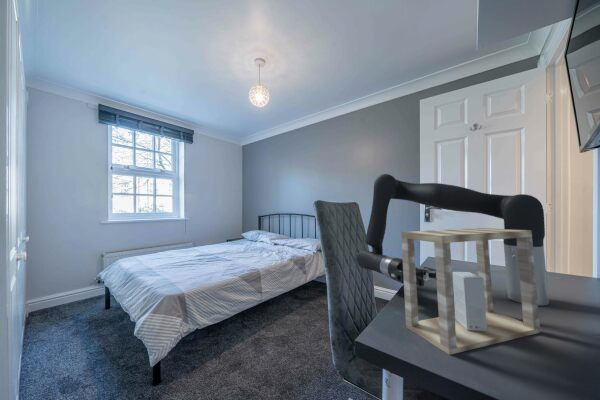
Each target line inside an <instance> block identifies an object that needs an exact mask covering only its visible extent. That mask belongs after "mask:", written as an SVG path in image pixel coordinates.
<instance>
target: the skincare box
mask: <svg viewBox="0 0 600 400" xmlns="http://www.w3.org/2000/svg"><path fill="white" fill-rule="evenodd" d="M452 282H453V298H454V313H455V319H456V320H457V321H458V322H459V323H460V324H461V325H462V326H463V327H465V328H466V329H467V330H472V331H487V325H486V312H485V298H484V285H483V278H481V277H479V276H478V274H474V273H472V272H470V271H468V272H467V271H452Z"/></svg>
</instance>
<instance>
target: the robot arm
mask: <svg viewBox="0 0 600 400" xmlns="http://www.w3.org/2000/svg"><path fill="white" fill-rule="evenodd" d="M372 194H373V195H372V196H373V197H372V205H371V212H370V217H369V221H368V226H367V229H366V234H365V239H364V242H365V244H366V245H367V246H369V247H371V250H372V251H368V250H360V251H359V252H358V253H357V255H356V257H355V258H356V259H355V260H356V263H357V265H358V267H360V268H362V269H364V270H369V271H372V272H373V271H374V272H376V273H378V274H381V275H383V276H385V277H387V278H389V279H391V280H393V281H396V282H399V283H401V284H403V285H404V277H403V258H400V257H396V256H390V255H386V254H383V253H384V252H383V251H384V249H383V245H384V244H383V243H384V238H385V234H386V229H387V219H388V218H387V217H388V209H389V205H390V201H391V200H402V201H409V202H414V203H418V204H421V205H425V206H427V207H432V208H437V209H442V210H447V211H453V212H462V213H473V214H474V213H476V214H480V215H481V214H482V215H486V216H491V217H493V218H498V219H502V220H503V229H512V230H531V231H532V242H533V254H534V266H535V277H536V289H537V301H538V307H540V306H548V305H550V293H549V280H548V271H547V270H546V269H547V268H546V267H547V266H546V256H545V247H544V245H545V244H544V239H545V237H546V229H545V213H544V207H543V204H542V202H541V201H540V200H539V199H538V198H537V197H536V196H533V195H530V194H521V193H520V194H514V195H507V194H504V195H503V194H494V193H487V192H486V193H485V192H481V191H478V190H475V189H470V188H467V187H462V186H458V185H453V184H446V183H439V182H438V183H437V182H425V183H423V182H422V183H421V182H420V183H412V182H407V181H403V180H399V179H396V178H395V177H394V176H393V175H391V174H388V173H384V174H380V175H378V176H377V177H376V179H375V180H374V183H373V193H372ZM502 240H503V250H504V251H503V252H504V264H505V266H504V267H505V275H506V277H505V278H506V288H507V289H506V291H507V298H508V299H510V300H512V301H513V302H516V303H521V304H522V300H521V288H520V276H519V264H518V251H517V239H516V238H508V239H502ZM415 268H416V286H419V287H424V286H425V281H426V282H428V281H429V280H432V281H436V282H437V280H436V268H435V269H434V268H432V267H431V268H430V267H428V266H427V267H426V266H424V267H423V266H422V267H420V266H419V267H418V266H415ZM424 276H425V277H424Z"/></svg>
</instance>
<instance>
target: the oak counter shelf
mask: <svg viewBox="0 0 600 400" xmlns="http://www.w3.org/2000/svg"><path fill="white" fill-rule="evenodd" d="M400 234H401V235H400V236H401V249H402V250H401V252H402V253H401V256H402V259H403V277H404V284H403V292H404V294H403V295H404V311H405V312H404V313H405V328H406V329H408V330H410V332H412V333H414V334H416V335H417V336H419V337H420V338H422V339H424V340H425V341H427V342H429V343H430V344H432V345H433V346H435V347H436V348H438V349H439V350H441V351H443V352H444V353H446V354H447V355H449V356H450V355H456V354H458V353H462V352H466V351H472V350H474V349H475V350H476V349H479V348H483V347H487V346H492V345H495V344H499V343H504V342H507V341H511V340H515V339H518V338H524V337H528V336H531V335H532V336H533V335H536V334H540V333H541V326H540V325H541V324H540V313H539V305H538V301H537V289H536V277H535V266H534V254H533V242H532V231H531V230H512V229H504V228H490V227H488V228H487V227H475V228H471V227H470V228H456V229H451V228H450V229H439V230H438V229H436V230H434V229H433V230H418V231H416V230H415V231H401V233H400ZM508 238H516V239H517V251H518V264H519V276H520V288H521V300H522V303H521V310H522V311H521V313H522V320H523V321H521V320H519V319H516V318H513V317H510V316H507V315H505V314H502V313H499V312H497V311H495V310H494V301H493V300H494V299H493V288H492V285H493V284H492V272H491V262H490V260H491V259H490V246H489V241H491V240H503V239H508ZM415 241H421V242H430V243H431V242H432V243H434V257H435V258H434V260H435V262H434V263H435V269H436V280H437V281H436V280H435V281H436V293H437V294H436V296H437V310H438V317H433V318H432V317H431V318H427V319H421V320H419V308H418V307H419V306H418V290H417V289H418V288H417V286H418V285H416V268H415V267H416V257H415V256H416V252H415ZM463 242H475V249H476V250H475V251H476V265H477V276H479V277H481V278H483V285H484V298H485V312H486V325H487V331H472V330H467V329H466V328H465V327H463V326H462V325H461V324H460V323H459V322H458V321H457V320H456V319H455V305H454V289H453V269H452V254H451V243H463Z"/></svg>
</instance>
